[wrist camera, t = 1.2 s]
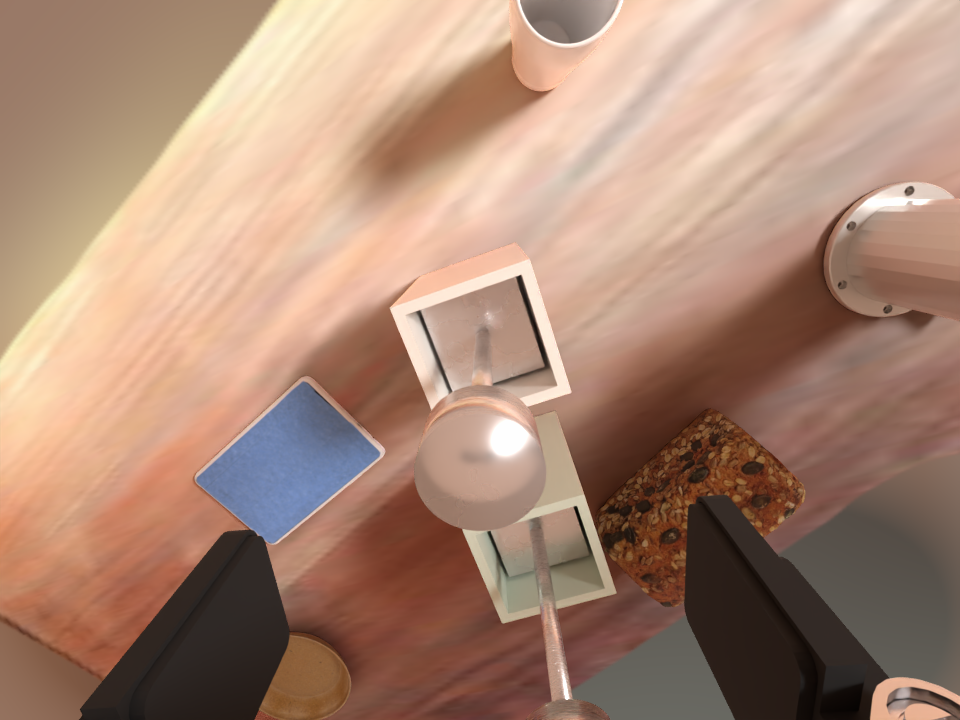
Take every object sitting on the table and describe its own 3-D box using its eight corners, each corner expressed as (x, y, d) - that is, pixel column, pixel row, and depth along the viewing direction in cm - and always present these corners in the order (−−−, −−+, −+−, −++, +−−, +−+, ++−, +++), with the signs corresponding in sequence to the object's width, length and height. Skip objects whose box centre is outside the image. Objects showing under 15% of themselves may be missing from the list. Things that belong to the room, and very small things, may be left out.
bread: (647, 558, 58) (679, 627, 49) (585, 508, 56) (605, 569, 47) (771, 456, 54) (833, 510, 44) (709, 397, 52) (759, 440, 42)
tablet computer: (308, 370, 52) (303, 374, 51) (390, 449, 55) (387, 455, 53) (195, 473, 56) (188, 479, 55) (276, 542, 59) (272, 549, 57)
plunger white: (514, 273, 36) (547, 352, 17) (543, 364, 38) (603, 528, 19) (420, 306, 37) (346, 417, 18) (454, 393, 39) (422, 579, 20)
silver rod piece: (564, 481, 42) (634, 725, 22) (588, 550, 44) (671, 829, 24) (481, 505, 42) (478, 762, 23) (508, 572, 45) (526, 859, 25)
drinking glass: (504, 104, 43) (513, 53, 29) (501, 16, 41) (510, -85, 27) (580, 99, 43) (626, 46, 29) (581, 11, 41) (631, -93, 27)
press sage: (555, 410, 52) (584, 494, 37) (580, 486, 55) (616, 593, 40) (469, 437, 53) (462, 529, 38) (497, 510, 56) (502, 623, 41)
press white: (515, 242, 47) (529, 258, 32) (545, 335, 50) (571, 392, 35) (420, 276, 48) (389, 308, 33) (454, 365, 51) (441, 433, 36)
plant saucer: (222, 654, 64) (211, 672, 61) (301, 600, 61) (293, 617, 59) (300, 718, 67) (292, 738, 65) (378, 670, 64) (374, 689, 62)
